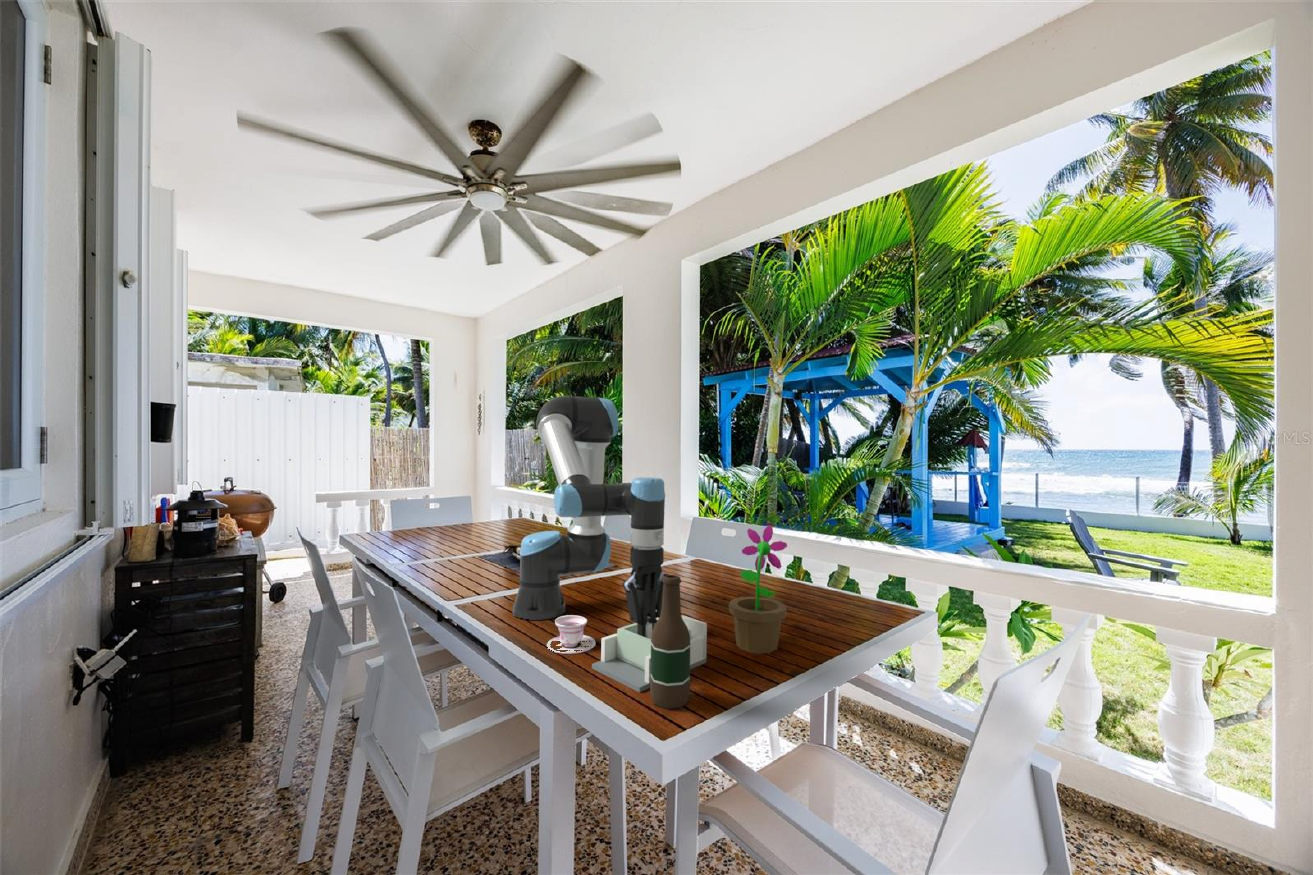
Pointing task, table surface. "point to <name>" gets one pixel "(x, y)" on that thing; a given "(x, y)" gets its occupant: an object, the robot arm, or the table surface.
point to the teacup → (572, 634)
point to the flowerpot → (758, 601)
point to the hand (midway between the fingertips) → (645, 652)
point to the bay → (647, 658)
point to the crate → (634, 645)
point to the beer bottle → (670, 651)
